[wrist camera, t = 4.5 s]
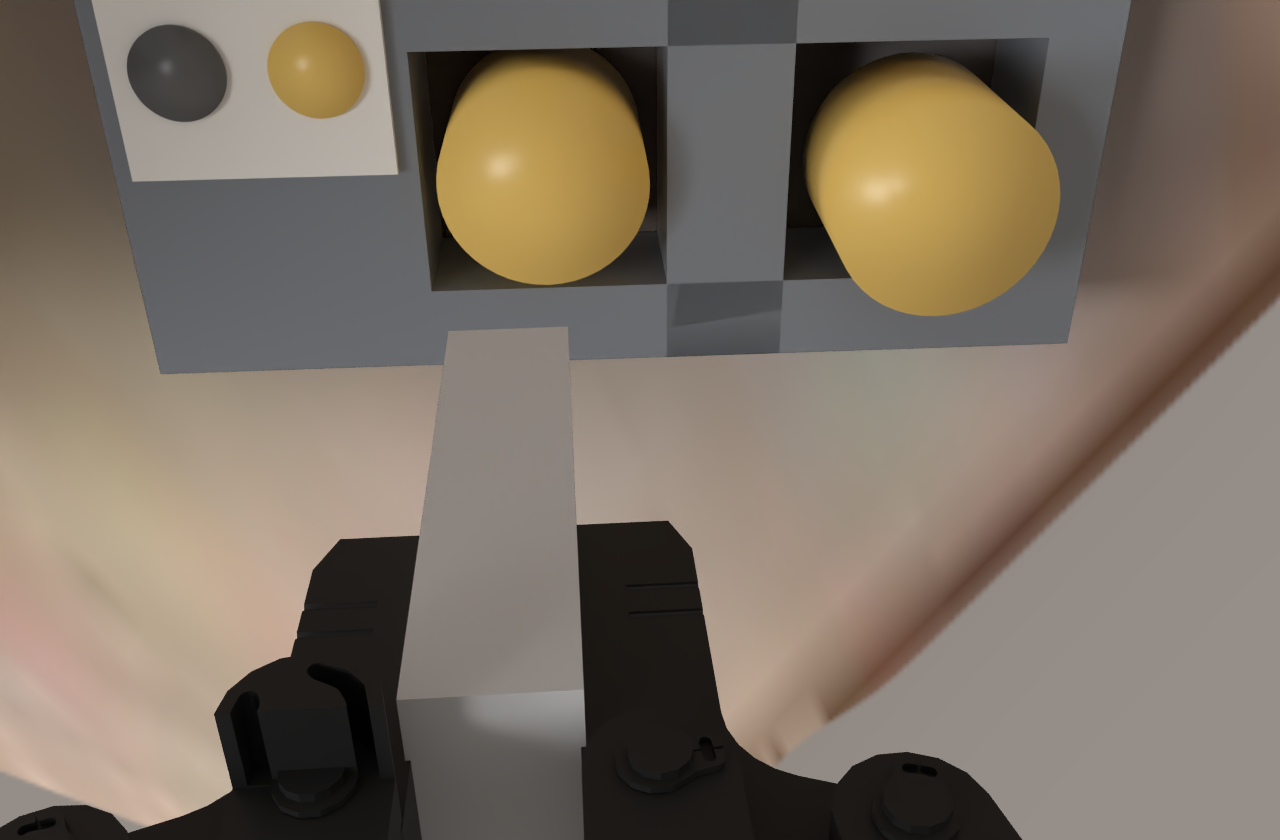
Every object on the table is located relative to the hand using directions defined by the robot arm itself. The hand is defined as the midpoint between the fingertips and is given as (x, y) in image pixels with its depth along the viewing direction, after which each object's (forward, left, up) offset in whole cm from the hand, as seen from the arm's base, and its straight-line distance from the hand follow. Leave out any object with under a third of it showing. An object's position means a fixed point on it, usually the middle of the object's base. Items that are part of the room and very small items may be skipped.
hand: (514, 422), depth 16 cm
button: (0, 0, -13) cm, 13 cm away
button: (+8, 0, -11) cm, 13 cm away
